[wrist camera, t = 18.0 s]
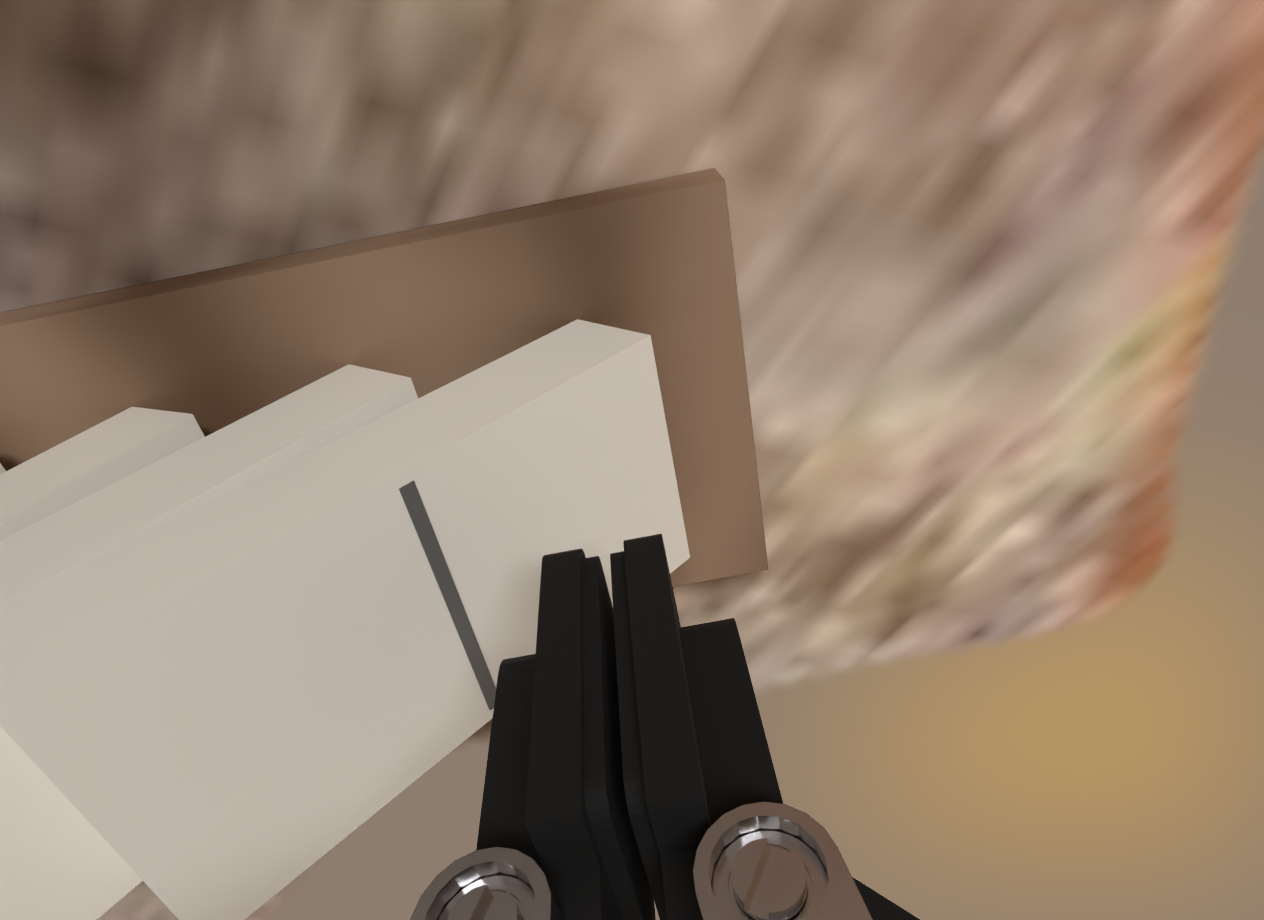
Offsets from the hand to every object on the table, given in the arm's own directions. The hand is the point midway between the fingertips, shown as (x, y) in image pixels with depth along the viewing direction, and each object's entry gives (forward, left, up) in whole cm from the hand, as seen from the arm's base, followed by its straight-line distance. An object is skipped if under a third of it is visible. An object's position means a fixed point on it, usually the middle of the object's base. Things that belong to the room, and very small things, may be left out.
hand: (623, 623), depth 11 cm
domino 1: (+1, 0, -5) cm, 5 cm away
